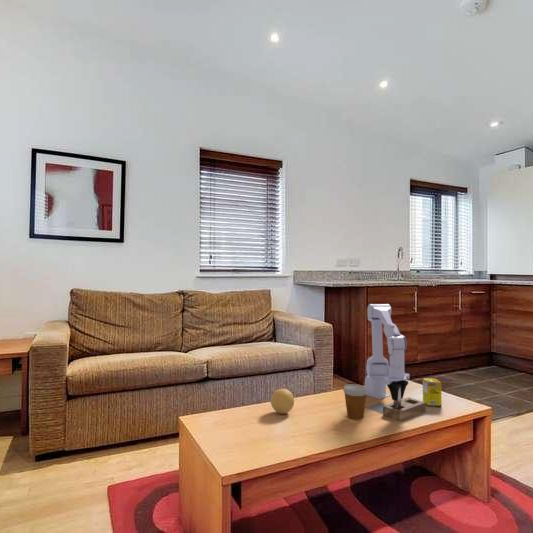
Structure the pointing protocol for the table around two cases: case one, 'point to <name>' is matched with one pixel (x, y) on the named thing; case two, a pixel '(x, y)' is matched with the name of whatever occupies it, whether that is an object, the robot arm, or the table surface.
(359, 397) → the disposable coffee cup
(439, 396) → the supplement box
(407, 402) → the socket block
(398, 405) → the peg
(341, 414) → the table surface
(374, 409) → the mat
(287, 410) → the stress ball
